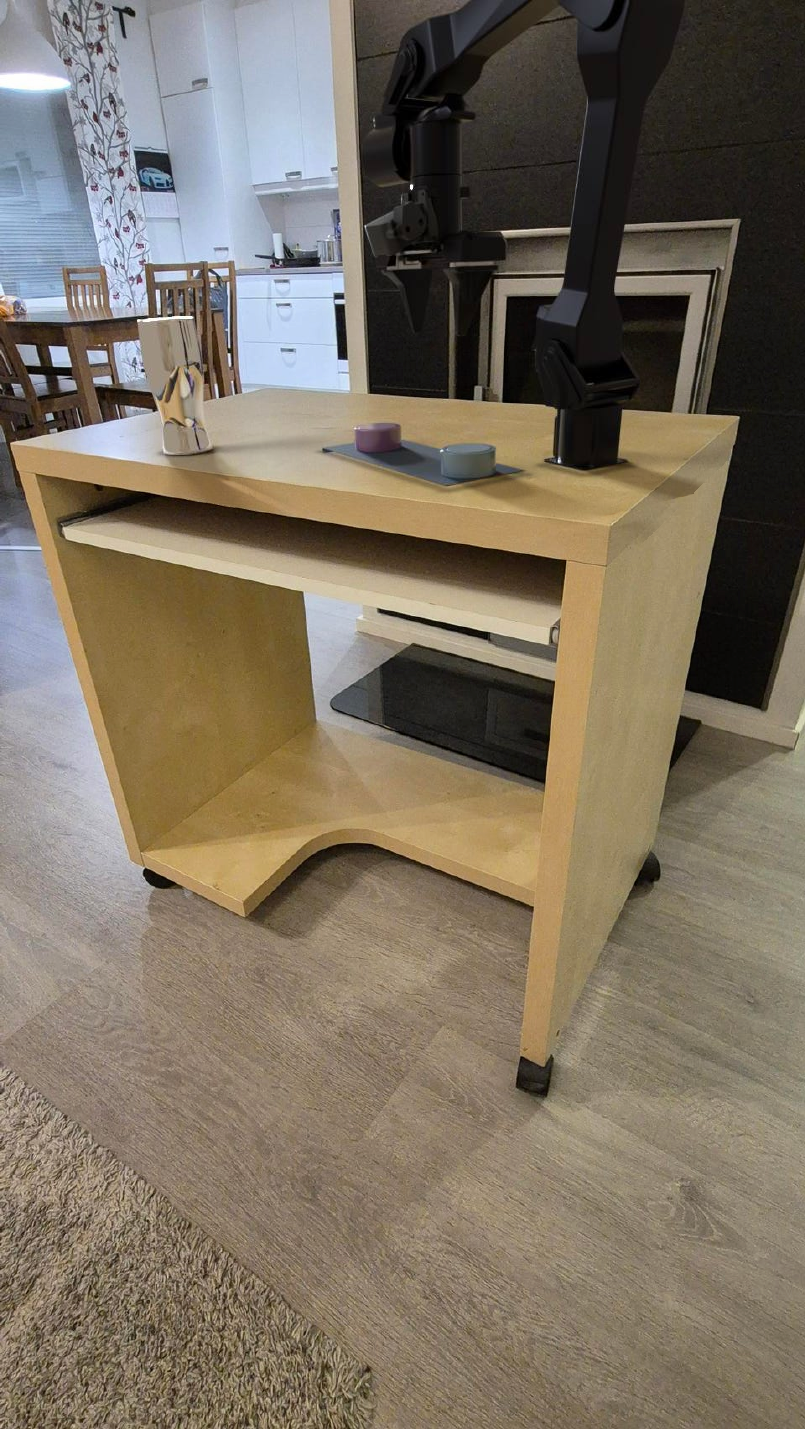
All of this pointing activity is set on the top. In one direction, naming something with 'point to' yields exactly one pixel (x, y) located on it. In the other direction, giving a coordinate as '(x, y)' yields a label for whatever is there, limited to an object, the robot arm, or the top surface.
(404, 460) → the placemat
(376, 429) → the purple puck
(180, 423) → the beer glass
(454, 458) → the grey-blue puck
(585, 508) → the top surface
